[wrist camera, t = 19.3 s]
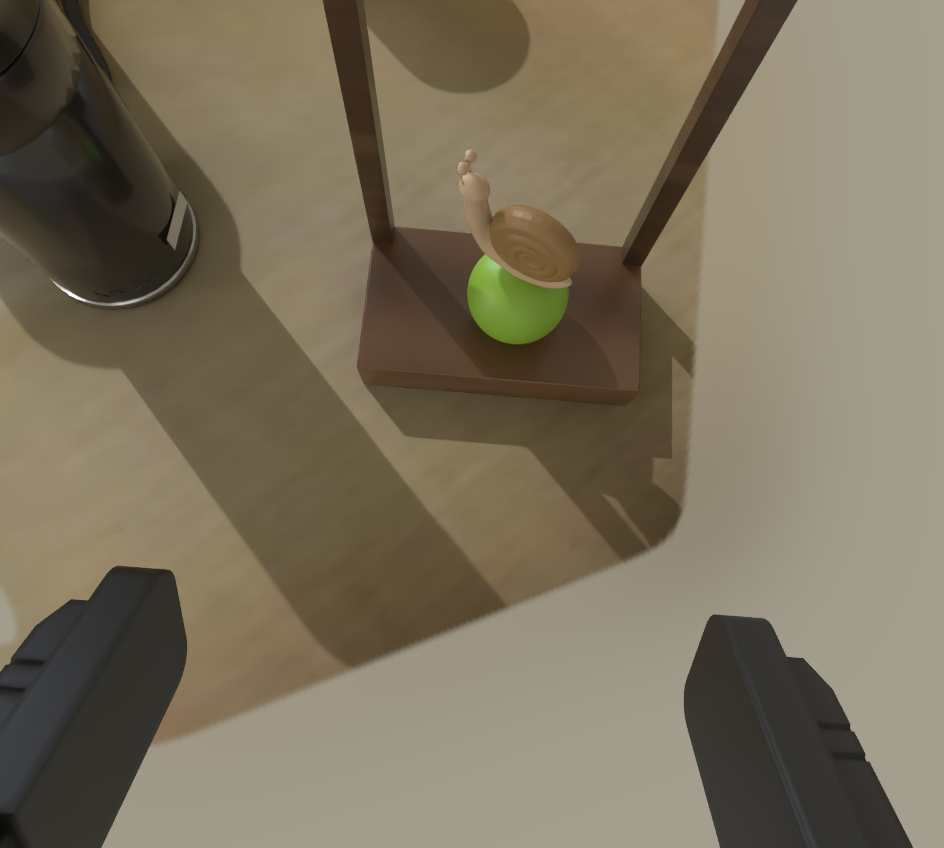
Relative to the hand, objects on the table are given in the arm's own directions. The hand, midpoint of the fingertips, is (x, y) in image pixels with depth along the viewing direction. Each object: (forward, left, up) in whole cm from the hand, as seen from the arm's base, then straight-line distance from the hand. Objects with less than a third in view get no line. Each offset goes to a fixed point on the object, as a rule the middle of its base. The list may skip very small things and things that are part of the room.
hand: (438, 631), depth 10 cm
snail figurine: (-14, +10, -26) cm, 31 cm away
